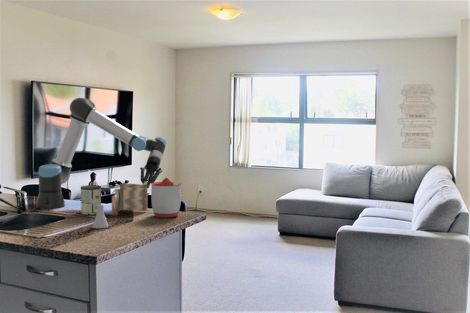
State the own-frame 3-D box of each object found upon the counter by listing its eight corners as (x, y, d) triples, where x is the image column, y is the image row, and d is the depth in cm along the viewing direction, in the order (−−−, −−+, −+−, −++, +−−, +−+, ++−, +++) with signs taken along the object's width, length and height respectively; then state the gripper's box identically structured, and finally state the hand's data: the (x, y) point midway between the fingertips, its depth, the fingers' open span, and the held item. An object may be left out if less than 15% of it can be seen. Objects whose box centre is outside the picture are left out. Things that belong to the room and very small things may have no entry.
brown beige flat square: (119, 209, 248) (119, 183, 247) (121, 208, 250) (121, 183, 249) (145, 210, 245) (145, 184, 244) (147, 210, 247) (147, 184, 246)
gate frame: (115, 210, 251) (115, 188, 250) (120, 210, 251) (120, 188, 250) (110, 215, 236) (110, 192, 235) (116, 215, 236) (116, 192, 235)
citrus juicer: (190, 215, 239) (190, 177, 238) (163, 220, 226) (164, 180, 225) (170, 211, 250) (170, 175, 248) (144, 215, 237) (144, 177, 235)
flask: (91, 226, 212) (91, 204, 211) (107, 225, 215) (107, 203, 214) (93, 229, 205) (93, 207, 204) (109, 228, 208) (109, 206, 207)
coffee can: (85, 210, 249) (85, 184, 248) (104, 211, 248) (104, 185, 247) (77, 214, 238) (77, 187, 237) (96, 214, 237) (96, 187, 236)
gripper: (166, 164, 270) (156, 196, 255) (145, 163, 272) (134, 195, 257) (163, 155, 264) (152, 188, 249) (142, 155, 267) (130, 187, 252)
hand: (143, 192), depth 253 cm, fingers closed
